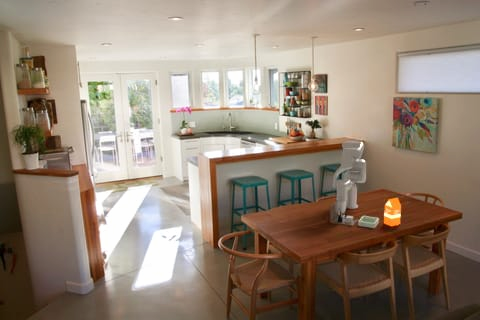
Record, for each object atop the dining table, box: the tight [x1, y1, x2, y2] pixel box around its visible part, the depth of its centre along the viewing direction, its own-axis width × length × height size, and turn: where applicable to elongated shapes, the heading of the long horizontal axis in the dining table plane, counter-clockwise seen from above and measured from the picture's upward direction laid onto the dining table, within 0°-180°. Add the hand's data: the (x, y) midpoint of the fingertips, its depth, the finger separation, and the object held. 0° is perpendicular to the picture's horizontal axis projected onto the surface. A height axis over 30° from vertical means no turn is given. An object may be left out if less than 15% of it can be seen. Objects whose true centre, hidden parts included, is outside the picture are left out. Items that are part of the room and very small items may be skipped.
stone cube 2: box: [345, 215, 354, 224], centre depth 301 cm, size 4×4×4 cm
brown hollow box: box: [329, 200, 359, 227], centre depth 302 cm, size 15×17×14 cm
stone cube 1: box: [337, 214, 346, 222], centre depth 304 cm, size 4×4×4 cm
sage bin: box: [357, 215, 380, 229], centre depth 297 cm, size 14×12×4 cm
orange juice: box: [383, 197, 402, 227], centre depth 296 cm, size 8×9×20 cm
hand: (341, 220), depth 304 cm, fingers closed on stone cube 1, 4 cm apart
